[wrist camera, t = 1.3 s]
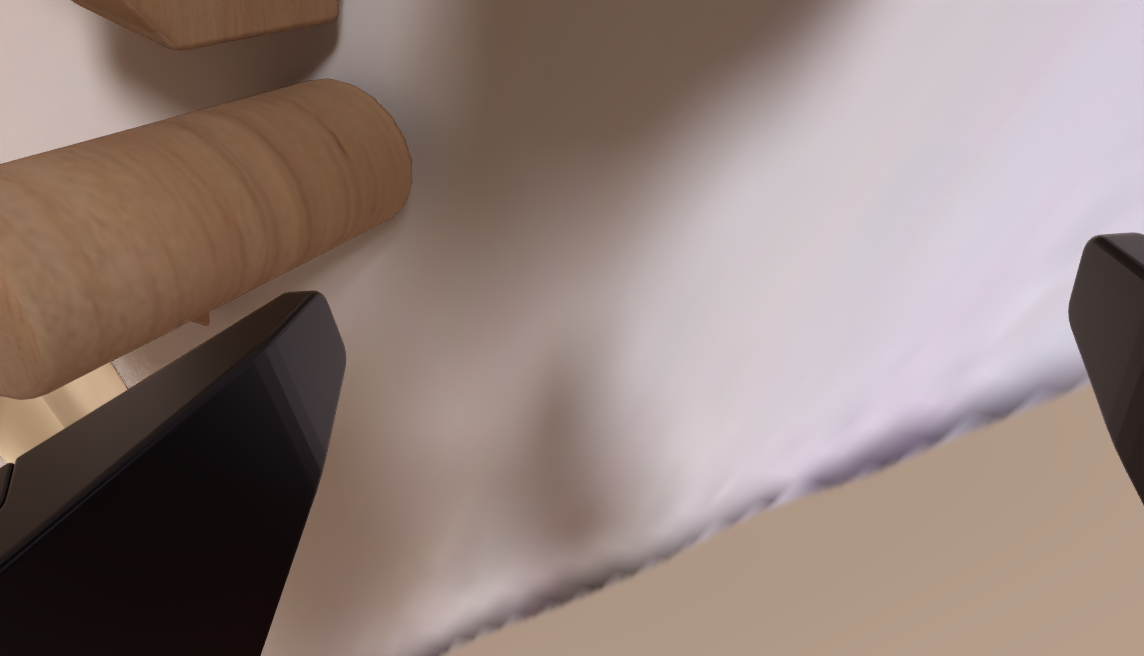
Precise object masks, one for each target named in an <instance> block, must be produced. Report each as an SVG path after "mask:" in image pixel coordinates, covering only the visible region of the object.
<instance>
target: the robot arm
mask: <svg viewBox="0 0 1144 656" xmlns="http://www.w3.org/2000/svg"><path fill="white" fill-rule="evenodd" d="M1068 313H1069V322H1070V326H1071V329H1072V332H1073V335H1074V338H1075V340H1076V343H1077V346H1078V349H1079V351H1080V354H1081V357H1082V360H1083V363H1084V365H1085V368H1086V371H1087V374H1088V377H1089V379H1090V382H1091V385H1092V388H1093V391H1094V393H1095V396H1096V399H1097V402H1098V404H1099V407H1100V410H1101V413H1102V416H1103V418H1104V421H1105V424H1106V427H1107V429H1108V432H1109V434H1110V437H1111V439H1112V442H1113V444H1114V447H1115V449H1116V451H1117V453H1118V455H1119V457H1120V459H1121V461H1122V463H1123V466H1124V468H1125V470H1126V472H1127V473H1128V475H1129V477H1130V479H1131V481H1132V483H1133V485H1134V487H1135V489H1136V491H1137V493H1138V495H1139V496H1140V499H1141V501H1142V503H1143V504H1144V235H1143V234H1140V233H1118V234H1105V235H1097V236H1094V237H1093V238H1091V239H1090V240H1089V241H1088V242H1087V244H1086V245H1085V247H1084V250H1083V253H1082V257H1081V260H1080V264H1079V268H1078V271H1077V275H1076V279H1075V283H1074V286H1073V290H1072V294H1071V297H1070V302H1069V310H1068ZM345 366H346V352H345V347H344V344H343V341H342V338H341V336H340V333H339V331H338V328H337V325H336V323H335V320H334V318H333V315H332V312H331V310H330V307H329V305H328V302H327V300H326V298H325V297H324V296H323V294H321V293H319V292H318V291H299V292H288V293H284V294H282V295H280V296H279V297H277V298H275V299H274V300H272V301H271V302H269V303H267V304H266V305H264V306H262V307H261V308H259V309H258V310H256V311H254V312H253V313H251V314H249V315H248V316H246V317H245V318H243V319H241V320H240V321H238V322H236V323H235V324H233V325H232V326H230V327H228V328H227V329H225V330H223V331H222V332H220V333H219V334H217V335H215V336H214V337H212V338H210V339H209V340H207V341H206V342H204V343H202V344H201V345H199V346H198V347H196V348H194V349H193V350H191V351H189V352H188V353H186V354H185V355H183V356H181V357H180V358H178V359H176V360H175V361H173V362H172V363H170V364H168V365H167V366H165V367H163V368H162V369H160V370H159V371H157V372H155V373H154V374H152V375H150V376H149V377H147V378H146V379H144V380H142V381H141V382H139V383H137V384H136V385H134V386H133V387H131V388H129V389H128V390H126V391H124V392H123V393H121V394H120V395H118V396H116V397H115V398H113V399H112V400H110V401H108V402H107V403H105V404H103V405H102V406H100V407H99V408H97V409H95V410H94V411H92V412H90V413H89V414H87V415H86V416H84V417H82V418H81V419H79V420H77V421H76V422H74V423H73V424H71V425H69V426H68V427H66V428H64V429H63V430H61V431H60V432H58V433H56V434H55V435H53V436H51V437H50V438H48V439H47V440H45V441H43V442H42V443H40V444H38V445H37V446H35V447H34V448H32V449H30V450H29V451H27V452H25V453H24V454H22V455H21V456H19V457H17V459H16V460H15V464H14V463H7V464H6V465H4V466H2V467H1V468H0V656H261V653H262V650H263V647H264V644H265V641H266V638H267V635H268V632H269V629H270V626H271V623H272V620H273V618H274V615H275V612H276V609H277V606H278V603H279V600H280V597H281V594H282V591H283V588H284V585H285V582H286V579H287V577H288V574H289V571H290V568H291V565H292V562H293V559H294V556H295V553H296V550H297V547H298V544H299V541H300V538H301V536H302V533H303V530H304V527H305V524H306V521H307V518H308V515H309V512H310V509H311V506H312V503H313V500H314V497H315V495H316V492H317V488H318V485H319V482H320V479H321V476H322V472H323V468H324V464H325V460H326V456H327V451H328V447H329V442H330V437H331V432H332V428H333V423H334V418H335V414H336V409H337V404H338V400H339V395H340V390H341V386H342V381H343V376H344V372H345Z"/></svg>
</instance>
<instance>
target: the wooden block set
mask: <svg viewBox="0 0 1144 656" xmlns="http://www.w3.org/2000/svg"><path fill="white" fill-rule="evenodd" d="M72 1H73V2H74V3H76V4H78V5H80V6H82V7H84V8H86V9H88V10H90V11H92V12H94V13H96V14H98V15H100V16H103V17H105V18H107V19H109V20H111V21H113V22H115V23H117V24H119V25H121V26H123V27H125V28H128V29H130V30H132V31H134V32H136V33H138V34H140V35H142V36H144V37H146V38H148V39H150V40H152V41H155V42H157V43H159V44H161V45H163V46H165V47H167V48H169V49H171V50H188V49H193V48H198V47H203V46H208V45H213V44H219V43H224V42H229V41H234V40H239V39H244V38H250V37H255V36H260V35H265V34H270V33H275V32H281V31H286V30H291V29H296V28H301V27H306V26H312V25H317V24H322V23H327V22H332V21H333V20H335V19H336V17H337V14H338V7H339V0H72ZM411 184H412V160H411V157H410V154H409V151H408V147H407V144H406V141H405V138H404V136H403V135H402V133H401V131H400V129H399V128H398V126H397V124H396V123H395V121H394V119H393V117H392V116H391V115H390V114H389V113H388V112H387V111H386V110H385V109H384V108H383V107H382V106H381V105H380V104H379V102H378V101H377V100H376V99H375V98H373V97H371V96H370V95H368V94H367V93H365V92H364V91H362V90H360V89H359V88H357V87H356V86H353V85H350V84H347V83H343V82H340V81H336V80H332V79H319V80H310V81H306V82H302V83H299V84H295V85H291V86H288V87H284V88H280V89H277V90H273V91H269V92H265V93H262V94H258V95H254V96H251V97H247V98H243V99H240V100H236V101H232V102H228V103H225V104H221V105H217V106H214V107H210V108H206V109H203V110H199V111H195V112H191V113H188V114H184V115H180V116H177V117H173V118H169V119H166V120H162V121H158V122H154V123H151V124H147V125H143V126H140V127H136V128H132V129H129V130H125V131H121V132H117V133H114V134H110V135H106V136H103V137H99V138H95V139H92V140H88V141H84V142H80V143H77V144H73V145H69V146H66V147H62V148H58V149H55V150H51V151H47V152H43V153H40V154H36V155H32V156H29V157H25V158H21V159H18V160H14V161H10V162H6V163H3V164H0V396H3V397H7V398H12V399H17V400H26V399H34V398H37V397H40V396H43V395H46V394H49V393H51V392H53V391H55V390H57V389H58V388H60V387H62V386H64V385H66V384H68V383H70V382H72V381H74V380H76V379H78V378H80V377H82V376H84V375H86V374H88V373H90V372H92V371H94V370H96V369H98V368H99V367H101V366H103V365H105V364H107V363H109V362H111V361H113V360H115V359H117V358H119V357H121V356H123V355H125V354H127V353H129V352H131V351H133V350H135V349H137V348H139V347H140V346H142V345H144V344H146V343H148V342H150V341H152V340H154V339H156V338H158V337H160V336H162V335H164V334H166V333H168V332H170V331H172V330H174V329H176V328H178V327H180V326H181V325H183V324H185V323H187V322H189V321H192V322H196V323H199V324H202V325H205V326H207V325H209V311H211V310H213V309H215V308H217V307H219V306H221V305H222V304H224V303H226V302H228V301H230V300H232V299H234V298H236V297H238V296H240V295H242V294H244V293H246V292H248V291H250V290H252V289H254V288H256V287H258V286H260V285H262V284H263V283H265V282H267V281H269V280H271V279H273V278H275V277H277V276H279V275H281V274H283V273H285V272H287V271H289V270H291V269H293V268H295V267H297V266H299V265H301V264H303V263H304V262H306V261H308V260H310V259H312V258H314V257H316V256H318V255H320V254H322V253H324V252H326V251H328V250H330V249H332V248H334V247H336V246H338V245H340V244H342V243H344V242H345V241H347V240H349V239H351V238H353V237H355V236H357V235H359V234H361V233H363V232H365V231H367V230H369V229H371V228H373V227H375V226H377V225H379V224H381V223H383V222H385V221H386V220H388V219H390V218H392V217H393V216H394V215H395V214H396V213H397V212H398V211H399V210H400V208H401V207H402V206H403V205H404V204H405V202H406V200H407V197H408V194H409V191H410V188H411Z"/></svg>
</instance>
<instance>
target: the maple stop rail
mask: <svg viewBox="0 0 1144 656" xmlns="http://www.w3.org/2000/svg"><path fill="white" fill-rule="evenodd" d="M126 390H128V389H127V388H126V386H125V385H124V383H123V381H122V380H121V378H120V377H119V375H118V373H117V372H116V370H115V369H114V367H113V366H112V364H111V362H109V363H107V364H105V365H103V366H101V367H99V368H98V369H96V370H94V371H92V372H90V373H88V374H86V375H84V376H82V377H80V378H78V379H76V380H74V381H72V382H70V383H68V384H66V385H64V386H62V387H60V388H58V389H57V390H55V391H53V392H51V393H49V394H46V395H43V396H40V397H37V398H34V399H26V400H17V399H12V398H7V397H3V396H0V456H1V457H2V458H3V459H4V461H5V462H6V463H14V464H15V460H16V459H17V457H19V456H21V455H22V454H24V453H25V452H27V451H29V450H30V449H32V448H34V447H35V446H37V445H38V444H40V443H42V442H43V441H45V440H47V439H48V438H50V437H51V436H53V435H55V434H56V433H58V432H60V431H61V430H63V429H64V428H66V427H68V426H69V425H71V424H73V423H74V422H76V421H77V420H79V419H81V418H82V417H84V416H86V415H87V414H89V413H90V412H92V411H94V410H95V409H97V408H99V407H100V406H102V405H103V404H105V403H107V402H108V401H110V400H112V399H113V398H115V397H116V396H118V395H120V394H121V393H123V392H124V391H126Z"/></svg>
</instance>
